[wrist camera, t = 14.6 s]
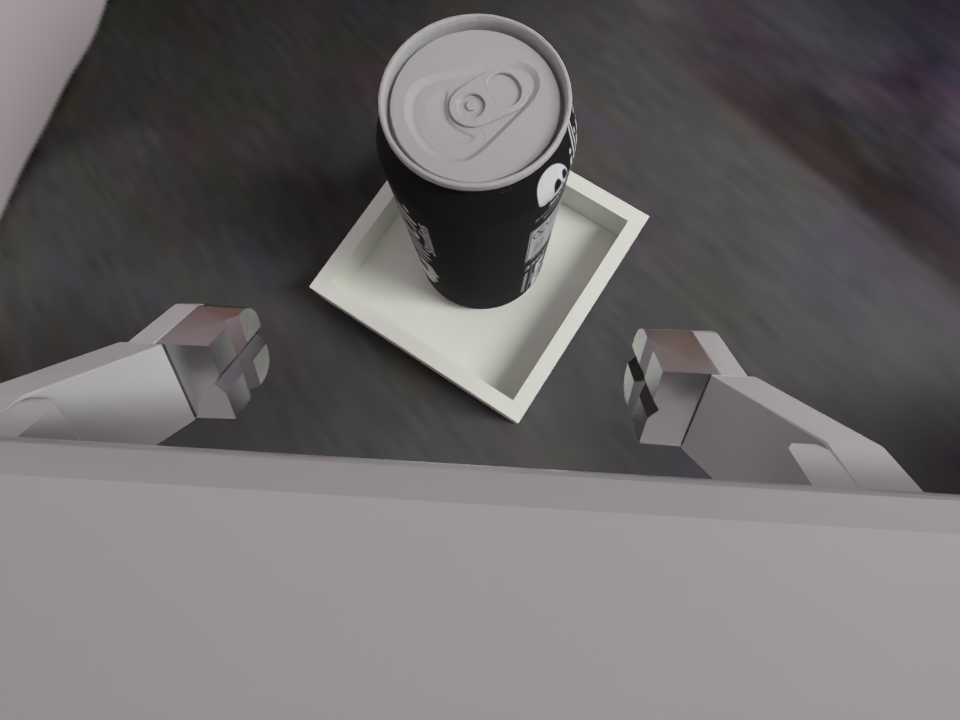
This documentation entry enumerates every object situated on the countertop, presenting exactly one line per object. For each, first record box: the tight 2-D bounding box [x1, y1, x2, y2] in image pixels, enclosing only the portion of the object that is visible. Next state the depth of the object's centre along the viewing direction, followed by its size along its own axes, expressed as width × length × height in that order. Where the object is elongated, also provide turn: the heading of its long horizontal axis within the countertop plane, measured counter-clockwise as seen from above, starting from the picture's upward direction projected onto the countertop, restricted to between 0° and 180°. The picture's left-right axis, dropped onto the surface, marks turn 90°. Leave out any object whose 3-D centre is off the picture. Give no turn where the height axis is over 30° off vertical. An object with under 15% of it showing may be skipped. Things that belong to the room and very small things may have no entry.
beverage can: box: [376, 14, 577, 309], centre depth 19 cm, size 7×7×12 cm
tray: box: [309, 171, 650, 424], centre depth 25 cm, size 13×13×2 cm
